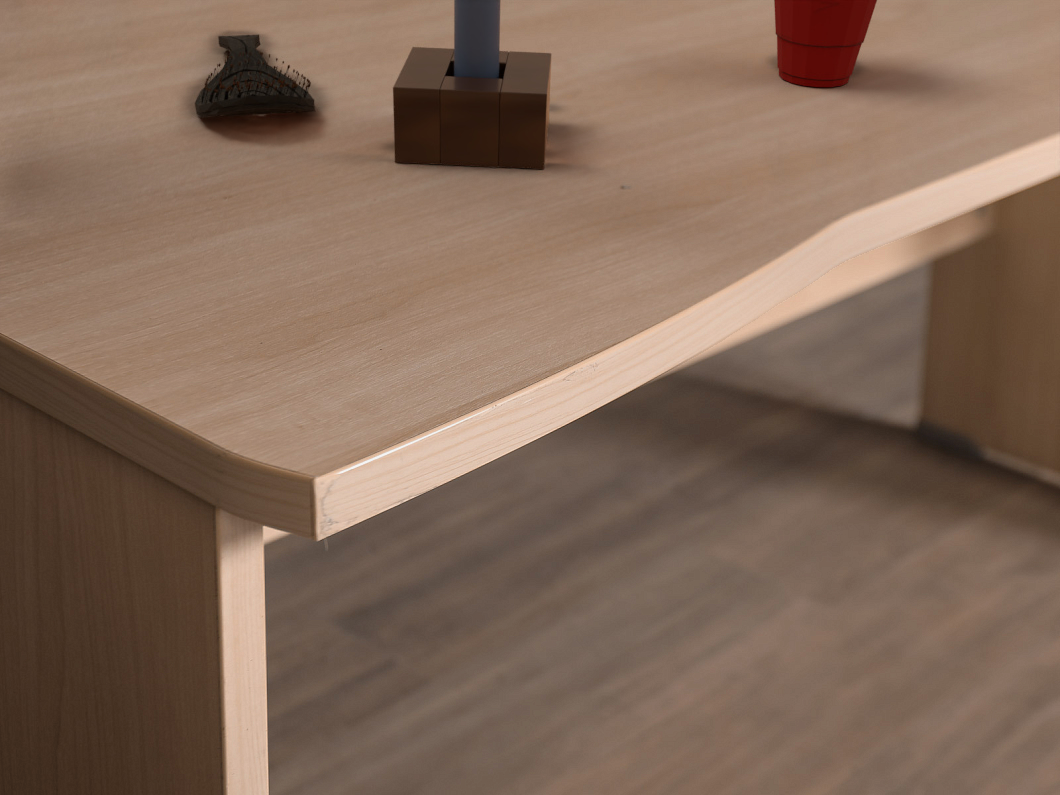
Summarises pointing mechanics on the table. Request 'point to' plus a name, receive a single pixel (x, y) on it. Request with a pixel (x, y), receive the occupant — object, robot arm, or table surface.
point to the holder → (472, 111)
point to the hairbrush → (250, 84)
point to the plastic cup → (820, 39)
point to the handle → (476, 38)
